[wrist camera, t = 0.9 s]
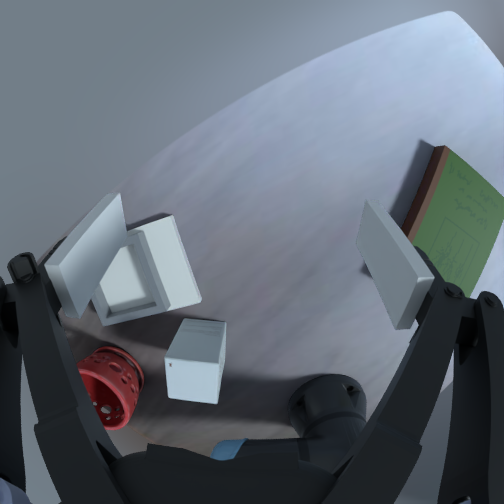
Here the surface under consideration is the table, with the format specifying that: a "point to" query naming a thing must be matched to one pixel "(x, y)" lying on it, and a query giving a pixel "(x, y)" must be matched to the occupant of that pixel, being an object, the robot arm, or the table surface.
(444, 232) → the hardcover book
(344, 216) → the table surface
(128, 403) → the plant pot
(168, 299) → the plate
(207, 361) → the supplement box
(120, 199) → the robot arm
